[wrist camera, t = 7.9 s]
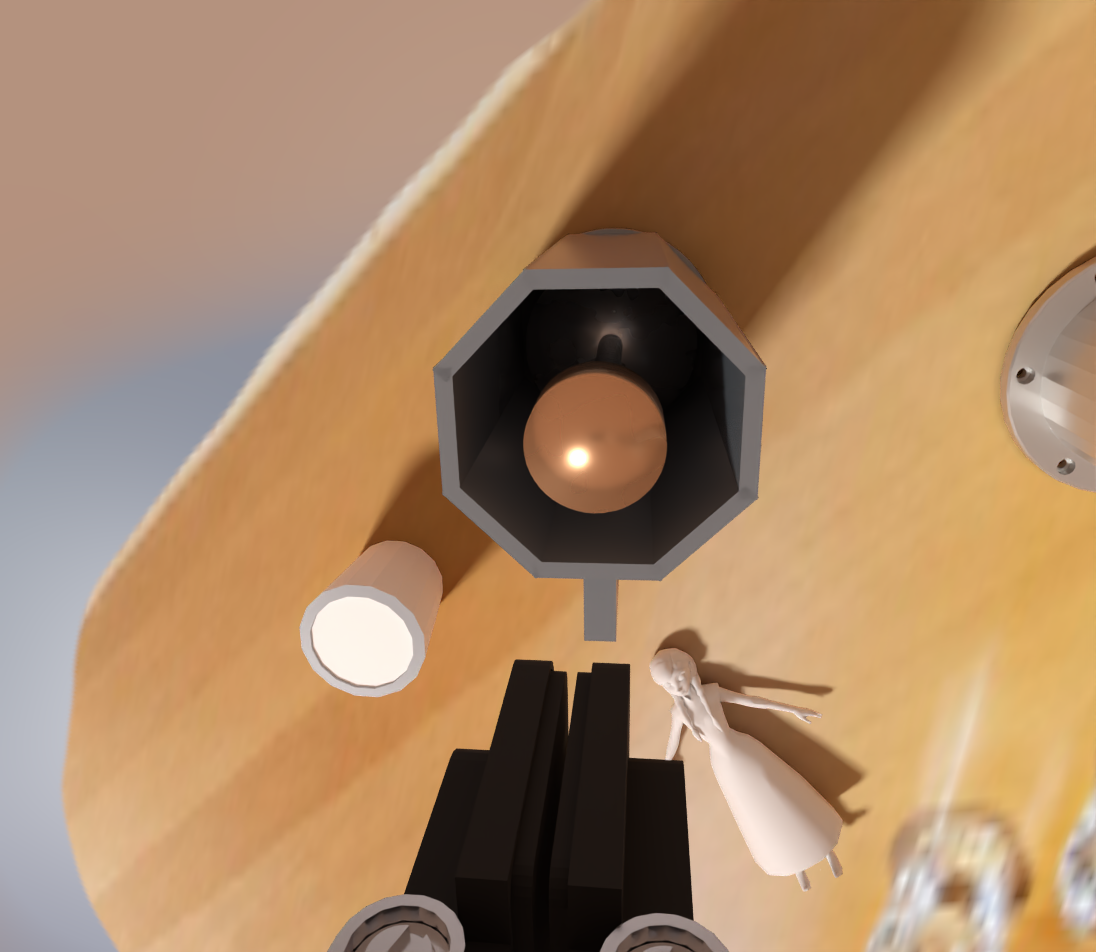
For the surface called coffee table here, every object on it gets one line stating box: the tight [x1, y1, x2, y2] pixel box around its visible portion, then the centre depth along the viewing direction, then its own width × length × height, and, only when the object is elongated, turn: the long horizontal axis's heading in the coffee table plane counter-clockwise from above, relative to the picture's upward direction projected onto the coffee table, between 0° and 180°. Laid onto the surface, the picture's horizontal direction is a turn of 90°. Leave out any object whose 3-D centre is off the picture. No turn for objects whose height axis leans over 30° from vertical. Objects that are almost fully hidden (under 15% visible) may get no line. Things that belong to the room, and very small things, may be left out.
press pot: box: [433, 228, 767, 642], centre depth 35 cm, size 11×14×18 cm
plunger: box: [523, 288, 697, 513], centre depth 33 cm, size 8×8×17 cm
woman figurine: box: [650, 648, 843, 891], centre depth 50 cm, size 12×4×18 cm
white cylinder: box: [300, 540, 443, 697], centre depth 46 cm, size 7×7×7 cm
